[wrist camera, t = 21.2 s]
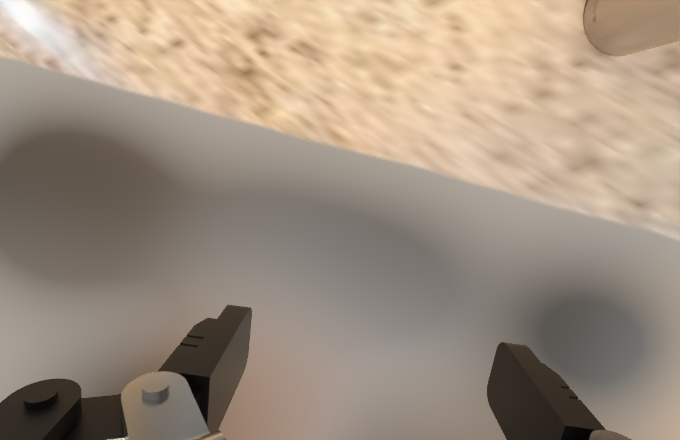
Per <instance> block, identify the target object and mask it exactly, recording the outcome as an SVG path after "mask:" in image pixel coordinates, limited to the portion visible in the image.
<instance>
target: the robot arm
mask: <svg viewBox="0 0 680 440" xmlns="http://www.w3.org/2000/svg"><path fill="white" fill-rule="evenodd" d="M584 28H585V32H586V35H587V37H588V39H589V41H590V42H591V43H592V45H593V46H594V47H595V48H596V49H598V50H599V51H601V52H602V53H605V54H608V55H613V56H623V55H628V54H632V53H636V52H639V51H643V50H647V49H650V48H654V47H658V46H662V45H665V44H669V43H673V42H676V41H680V0H588V2H587V4H586V7H585V13H584ZM251 317H252V310H251V308H248V307H241V306H233V305H227V306H226V308H225V309H224V310H223V312H222V313H221V315H220V316H219V317H218V319H212V318H207V319H205V320H203V321H201V322H200V323H198V324H196V325H194V327H193V328H192V329H191V331H190V332H189V333H188V334H187V337H185V338H184V339H183V340H182V342H181V343H180V345H179V346H178V347H177V348H176V349H175V350H174V352H173V353H172V354H171V355H170V357H169V358H168V359H167V360H166V362H165V363H164V364H163V365H162V367H161V368H160V369H159V370H158V372H153V373H149V374H145V375H143V376H140V377H138V378H136V379H134V380H133V381H131V382H130V383H129V384H128V385H127V386H126V387H125V388H124V390H123V392H122V394H118V395H112V396H102V397H91V398H81V388H80V386H79V385H78V384H77V383H76V382H74V381H72V380H68V379H49V380H44V381H39V382H36V383H33V384H30V385H27V386H25V387H23V388H21V389H19V390H17V391H15V392H14V393H12V394H11V395H9V396H8V397H7V398H6V399H4V400H3V401H2V402H1V403H0V440H226V438H225V436H224V435H223V433H222V432H221V431H219V430H218V429H219V427H220V424H221V422H222V420H223V418H224V415H225V413H226V411H227V409H228V406H229V404H230V402H231V400H232V397H233V395H234V393H235V390H236V388H237V386H238V384H239V382H240V379H241V377H242V375H243V372H244V370H245V367H246V363H247V358H248V351H249V340H250V329H251ZM487 397H488V402H489V405H490V407H491V409H492V411H493V413H494V415H495V417H496V419H497V421H498V423H499V425H500V427H501V429H502V431H503V433H504V435H505V437H506V439H507V440H631V439H629V438H627V437H625V436H623V435H621V434H618V433H615V432H612V431H608V430H606V429H605V428H604V427H603V426H602V425H601V424H600V422H599V421H598V420H597V419H596V418H595V417H594V415H593V414H592V413H591V412H590V411H589V410H588V408H587V407H586V406H585V405H584V404H583V403H582V401H581V400H578V397H577V396H576V394H575V393H574V392H573V391H572V390H571V389H569V386H568V385H567V384H566V383H565V381H564V380H563V379H562V378H561V377H560V376H559V375H558V374H557V373H556V372H554V371H553V370H551V369H550V368H548V367H547V366H546V365H545V364H542V363H541V362H540V361H539V360H538V358H537V357H536V356H535V355H534V354H533V352H532V351H531V350H530V349H529V348H528V347H527V346H526V345H519V344H512V343H504V342H501V343H500V344H499V345H498V347H497V350H496V354H495V358H494V362H493V366H492V370H491V373H490V377H489V381H488V386H487Z"/></svg>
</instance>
